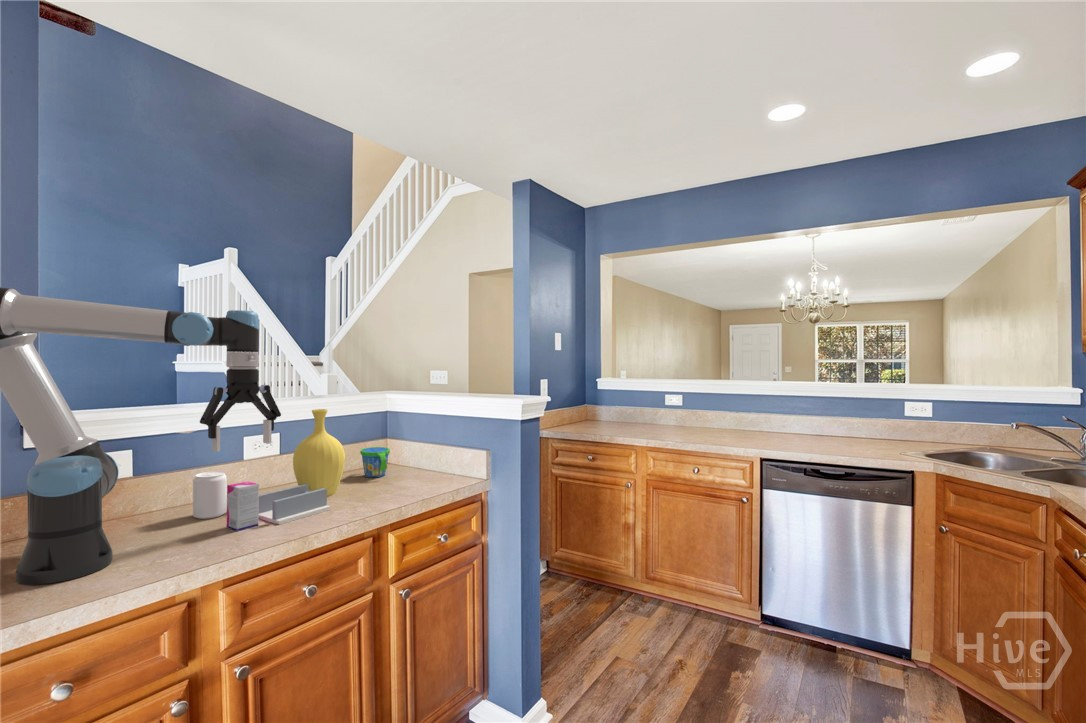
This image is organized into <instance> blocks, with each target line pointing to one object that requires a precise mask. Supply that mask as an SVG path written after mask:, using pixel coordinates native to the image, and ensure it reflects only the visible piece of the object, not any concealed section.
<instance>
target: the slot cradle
mask: <svg viewBox="0 0 1086 723" xmlns="http://www.w3.org/2000/svg"><path fill="white" fill-rule="evenodd" d="M327 498H328V496H327V489H325V488H322V489H318V490H314V491H308V484H303V485H299V486H298V485H295V486H290V487H287V488H282V489H279V490H278V489H277V490H273V491H270V492H269V491H268V492H266V493H261V494H259V518H258V520H262V521H266V522H269V523H272V524H275V525H279V526H280V525H283V524H287V523H289V522H293V521H296V520H300V519H304V518H306V517H309V516H314V515H318V514H320V513H324V512H327V511H329V510H331V506H330V505H328V504H327V503H328V501H327V500H328V499H327Z"/></svg>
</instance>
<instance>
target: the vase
mask: <svg viewBox="0 0 1086 723" xmlns="http://www.w3.org/2000/svg"><path fill="white" fill-rule="evenodd" d="M311 414H312V415H313V418H314V429H313V432H312V433H311V434H310V435H308V436H307V437H305V438H304V439H303V440H302V441H300V443H299V444H297V446H296V447H295V450H294V452H293V457H292V467H293V472H294V476H295V479H296V483H297V486H299V485H303V484H308V491H314V490H318V489H322V488H325V489H327V497H331V496H333V495H335V494H336V493H337V491H338V488H339V486H340V483H341V479H342V476H343V474H344V473H343V472H344V469H345V464H346V452H345V450H344V446H343V444H342V443H341V442H340V441H339V440H338V439H337V438H336V437H334V436H333V435H331V434H329V433H328V432H327V430H326V428H325V418H326V415H327V414H328V409H327V408H326V409H325V408H317V409H312V410H311Z"/></svg>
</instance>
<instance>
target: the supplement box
mask: <svg viewBox="0 0 1086 723" xmlns="http://www.w3.org/2000/svg"><path fill="white" fill-rule="evenodd" d="M259 495H260V484H259V483H256V482H251V481H243V482H238V483H232V484H227V511H226V528H227V529H230V530H233V531H236V532H241V531H243V530H247V529H250V528H254V527H258V526H259Z"/></svg>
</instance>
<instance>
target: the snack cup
mask: <svg viewBox="0 0 1086 723" xmlns="http://www.w3.org/2000/svg"><path fill="white" fill-rule="evenodd" d="M359 452H360V453H359V454H360V455H361V459H362V466H363V473H364V476H365V477H366V478H369V479H370V478H373V479H375V478H380V477H384V476H385V475H386V474H387V473H386V472H387V469H388V459H389V454H391V453H390V452H391V450H390V448H389V447H383V446H372V447H366V448H362V449H361V450H360V451H359Z"/></svg>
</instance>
